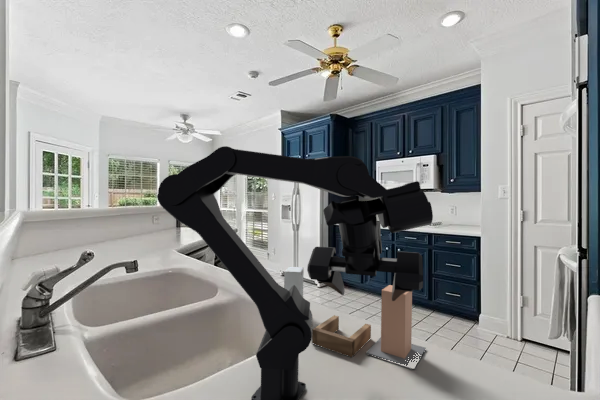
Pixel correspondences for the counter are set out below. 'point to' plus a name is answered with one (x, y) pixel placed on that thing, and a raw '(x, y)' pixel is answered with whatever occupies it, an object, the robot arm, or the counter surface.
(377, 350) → the mat
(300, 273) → the skincare box
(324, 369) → the counter surface
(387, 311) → the block
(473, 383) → the counter surface
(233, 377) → the counter surface
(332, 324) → the u-shaped frame
